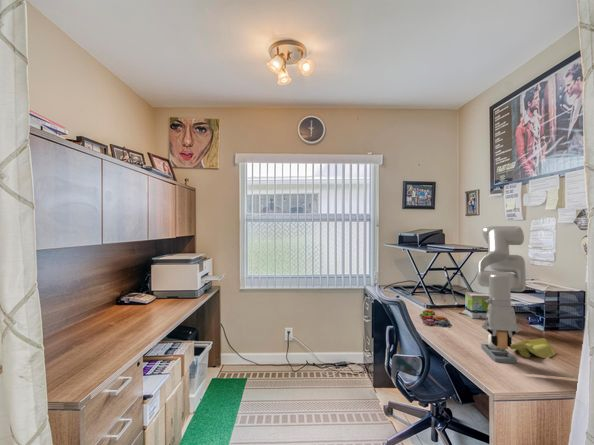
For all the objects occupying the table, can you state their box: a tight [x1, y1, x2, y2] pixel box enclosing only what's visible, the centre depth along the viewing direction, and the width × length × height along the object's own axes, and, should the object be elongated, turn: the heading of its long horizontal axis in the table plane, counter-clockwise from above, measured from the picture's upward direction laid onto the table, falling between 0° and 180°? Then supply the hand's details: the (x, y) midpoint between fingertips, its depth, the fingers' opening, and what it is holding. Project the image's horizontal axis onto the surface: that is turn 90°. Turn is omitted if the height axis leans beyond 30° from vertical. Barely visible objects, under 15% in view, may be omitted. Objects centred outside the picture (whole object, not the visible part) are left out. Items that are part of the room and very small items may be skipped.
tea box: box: [464, 291, 490, 320], centre depth 188 cm, size 15×10×15 cm, turn 83°
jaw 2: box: [487, 333, 500, 351], centre depth 133 cm, size 4×4×8 cm
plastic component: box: [509, 337, 556, 359], centre depth 131 cm, size 20×7×10 cm
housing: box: [480, 343, 518, 364], centre depth 130 cm, size 16×9×2 cm, turn 166°
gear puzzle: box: [419, 308, 453, 328], centre depth 185 cm, size 31×16×4 cm, turn 165°
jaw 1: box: [496, 330, 509, 350], centre depth 126 cm, size 4×4×8 cm
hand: (501, 344), depth 126 cm, fingers closed on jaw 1, 4 cm apart
